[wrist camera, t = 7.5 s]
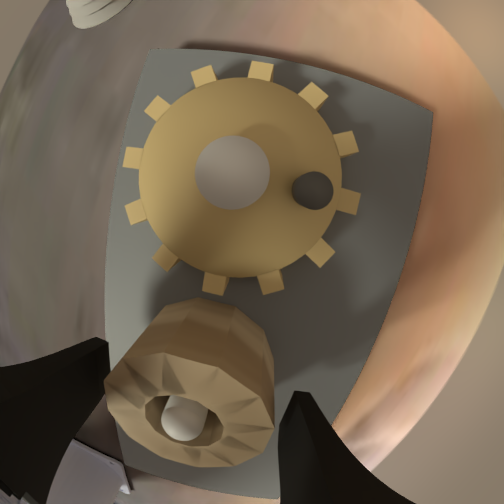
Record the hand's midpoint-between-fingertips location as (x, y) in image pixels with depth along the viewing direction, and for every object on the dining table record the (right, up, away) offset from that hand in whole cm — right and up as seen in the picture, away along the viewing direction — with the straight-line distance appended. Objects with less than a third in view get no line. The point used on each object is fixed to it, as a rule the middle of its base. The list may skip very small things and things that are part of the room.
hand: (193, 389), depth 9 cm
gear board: (+1, 0, +4) cm, 4 cm away
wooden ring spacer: (0, 0, +2) cm, 2 cm away
